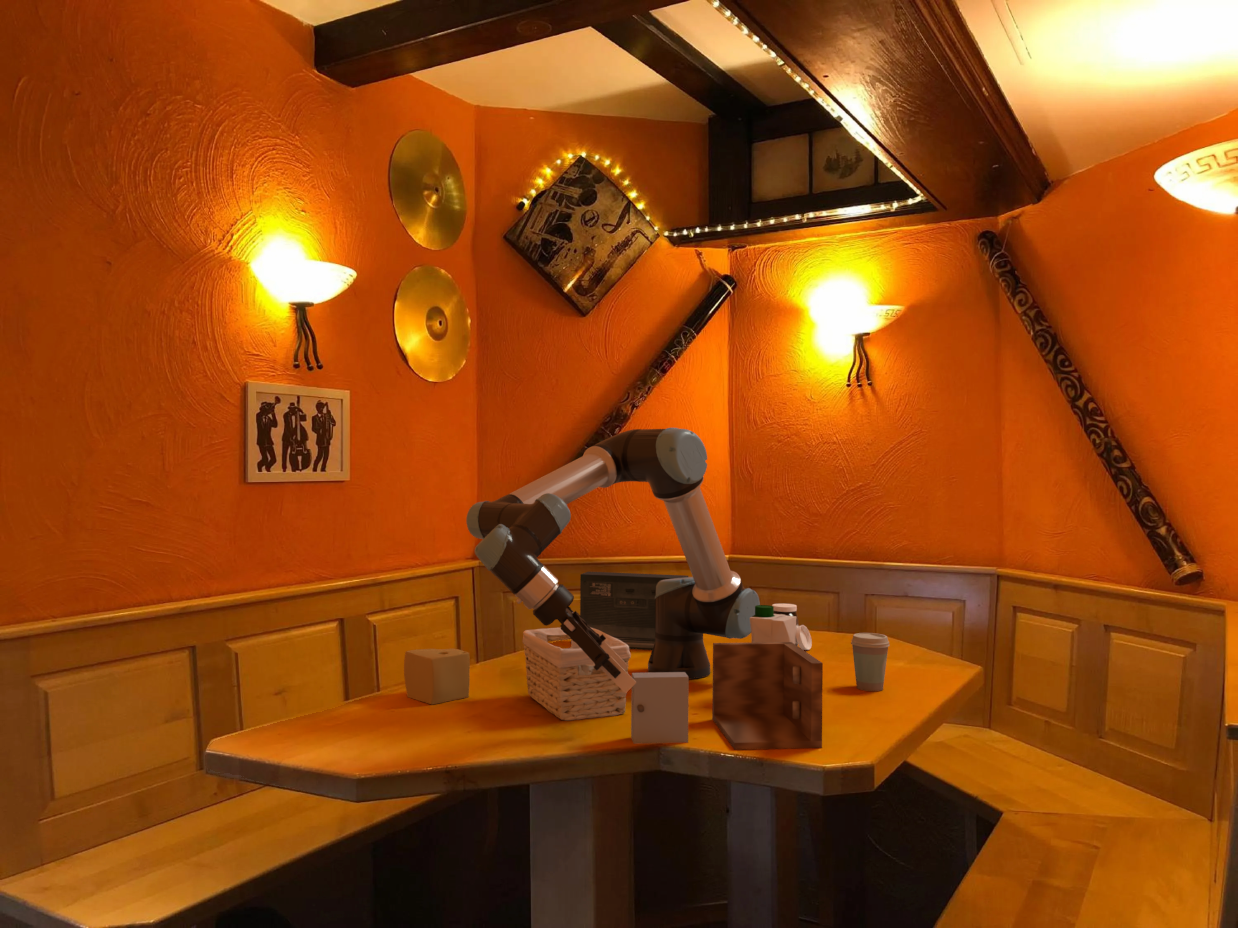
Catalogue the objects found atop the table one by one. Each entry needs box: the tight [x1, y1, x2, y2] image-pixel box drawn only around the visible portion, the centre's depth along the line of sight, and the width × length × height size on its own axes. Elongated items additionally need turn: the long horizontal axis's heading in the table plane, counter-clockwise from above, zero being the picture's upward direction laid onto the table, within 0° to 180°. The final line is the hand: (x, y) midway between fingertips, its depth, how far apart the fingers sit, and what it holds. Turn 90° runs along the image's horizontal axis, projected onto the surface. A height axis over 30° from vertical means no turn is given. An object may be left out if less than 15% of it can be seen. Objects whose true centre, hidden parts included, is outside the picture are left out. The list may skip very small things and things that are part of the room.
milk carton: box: [750, 604, 796, 644], centre depth 206 cm, size 9×9×20 cm
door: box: [630, 672, 690, 745], centre depth 175 cm, size 10×5×12 cm, turn 96°
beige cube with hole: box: [403, 648, 470, 706], centre depth 205 cm, size 10×11×10 cm
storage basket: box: [522, 627, 632, 722], centre depth 199 cm, size 24×16×15 cm
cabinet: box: [711, 642, 824, 751], centre depth 180 cm, size 16×20×15 cm
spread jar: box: [771, 603, 813, 651], centre depth 264 cm, size 12×11×12 cm
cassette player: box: [579, 571, 689, 651], centre depth 264 cm, size 29×7×20 cm, turn 74°
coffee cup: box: [850, 632, 890, 692], centre depth 217 cm, size 9×8×12 cm
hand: (627, 678), depth 174 cm, fingers open, 13 cm apart
